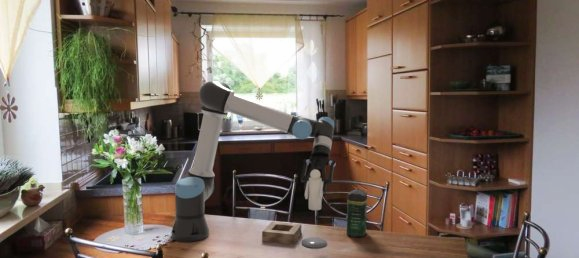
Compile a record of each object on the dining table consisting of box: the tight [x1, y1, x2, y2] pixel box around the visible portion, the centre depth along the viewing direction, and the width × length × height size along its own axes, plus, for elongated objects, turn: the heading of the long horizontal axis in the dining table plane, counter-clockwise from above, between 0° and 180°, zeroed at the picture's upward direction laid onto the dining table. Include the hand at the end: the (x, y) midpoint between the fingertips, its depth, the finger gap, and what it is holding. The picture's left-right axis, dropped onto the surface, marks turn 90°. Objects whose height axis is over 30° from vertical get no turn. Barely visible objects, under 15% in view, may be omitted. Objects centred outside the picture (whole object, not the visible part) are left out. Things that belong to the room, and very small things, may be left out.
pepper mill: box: [308, 169, 323, 211], centre depth 161 cm, size 5×5×16 cm
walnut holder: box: [261, 221, 302, 245], centre depth 170 cm, size 13×13×4 cm
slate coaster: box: [301, 236, 328, 249], centre depth 163 cm, size 10×10×1 cm
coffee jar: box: [346, 188, 368, 238], centre depth 174 cm, size 10×8×19 cm
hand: (313, 197), depth 158 cm, fingers closed on pepper mill, 5 cm apart
